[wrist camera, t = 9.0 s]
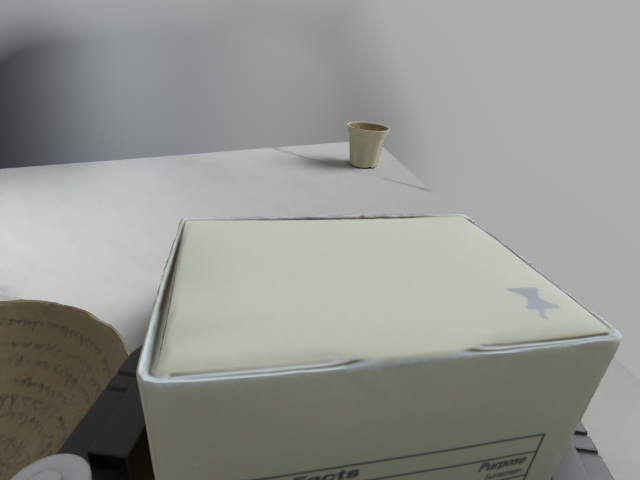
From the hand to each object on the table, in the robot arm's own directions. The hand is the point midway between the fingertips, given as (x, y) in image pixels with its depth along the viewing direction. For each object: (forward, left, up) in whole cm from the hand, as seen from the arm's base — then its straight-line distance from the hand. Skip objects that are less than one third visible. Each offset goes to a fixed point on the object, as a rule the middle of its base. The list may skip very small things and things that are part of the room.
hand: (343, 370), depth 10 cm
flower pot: (+16, -82, -19) cm, 86 cm away
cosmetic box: (0, +2, -8) cm, 8 cm away
